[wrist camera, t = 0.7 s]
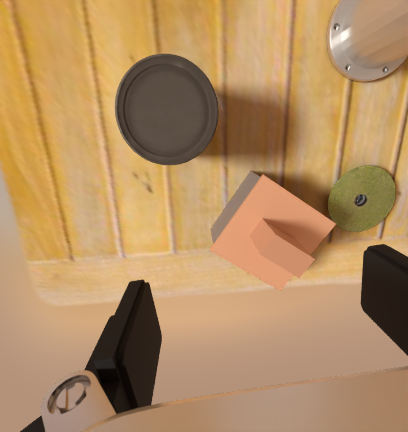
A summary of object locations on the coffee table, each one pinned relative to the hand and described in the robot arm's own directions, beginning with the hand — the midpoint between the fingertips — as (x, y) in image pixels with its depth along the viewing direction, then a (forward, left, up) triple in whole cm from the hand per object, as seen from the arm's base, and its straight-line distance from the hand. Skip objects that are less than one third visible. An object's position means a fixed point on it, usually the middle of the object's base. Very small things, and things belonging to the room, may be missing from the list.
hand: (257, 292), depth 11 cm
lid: (+2, +11, -24) cm, 26 cm away
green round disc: (-10, +23, -32) cm, 40 cm away
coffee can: (-4, -9, -32) cm, 33 cm away
